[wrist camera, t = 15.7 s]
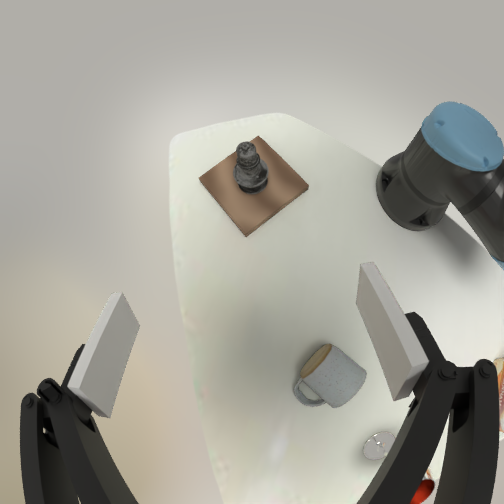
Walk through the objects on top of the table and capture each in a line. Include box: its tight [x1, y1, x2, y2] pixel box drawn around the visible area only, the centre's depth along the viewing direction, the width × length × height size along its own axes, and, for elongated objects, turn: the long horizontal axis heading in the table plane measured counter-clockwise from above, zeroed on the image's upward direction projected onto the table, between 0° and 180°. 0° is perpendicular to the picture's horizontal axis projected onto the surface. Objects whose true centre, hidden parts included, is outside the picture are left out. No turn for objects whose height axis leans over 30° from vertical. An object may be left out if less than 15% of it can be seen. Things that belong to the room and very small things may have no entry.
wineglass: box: [363, 432, 435, 504], centre depth 28 cm, size 8×8×18 cm
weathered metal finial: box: [233, 142, 269, 195], centre depth 42 cm, size 6×6×12 cm
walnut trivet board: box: [199, 136, 309, 237], centre depth 49 cm, size 14×14×2 cm
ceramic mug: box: [294, 344, 367, 408], centre depth 38 cm, size 11×8×8 cm
